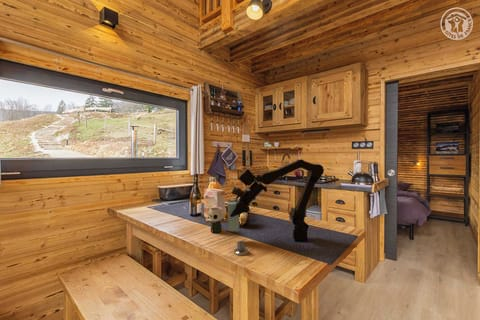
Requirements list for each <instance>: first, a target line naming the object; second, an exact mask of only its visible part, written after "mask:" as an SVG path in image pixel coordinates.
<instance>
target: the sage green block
mask: <svg viewBox="0 0 480 320" xmlns="http://www.w3.org/2000/svg"><path fill="white" fill-rule="evenodd" d="M235 208H236V202H228V201H227V231H228V232H239V231H240V225H239V215H236V216H234V217H230V215H231V213H232V212H233V210H234V209H235Z"/></svg>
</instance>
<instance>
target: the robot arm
mask: <svg viewBox="0 0 480 320" xmlns="http://www.w3.org/2000/svg"><path fill="white" fill-rule="evenodd" d="M299 169H303V170H305V171H307V172H306V181H305V183H304V186H303V188H302V190H301V193H300V196H299V198H298V200H297V204H296V205H295V206H294V207H293V206H291V207H290V211H289V213H288V215H289V216H288V218H289V220H290V221H291V222H290V223H292V225H293V229H292V239H293V241H294V242H301V243H308V242H309V239H308V230H309V227H310V225H309V224H308V223H306V222H305V220H306V219H305V218H306V208H307V207H308V203H309V200H310V199H311V196H312V195H313V194H312V193H313V191H314V187H315V186H316V184H317V182H318V181H319V180H320V179H321V177H322V176H323V174H324V172H325V168H324V166H323V165H321V164H319V163H312V162H309V161H305V160H304V159H296V160H294V161H292V162H290V163H288V164H285V165H284V166H281V167H279V168H277V169H274V170H268V171H264V172H262V173H260V174H256V175H254V174H253V173H252V172H251V170H250V169H249V168H246V170H244V171H243V172H241V174H240V175H239V176H238V178H237V179H238V180H240V182H241V183H242V184H243V185H244V186H246V187H247V186H248V188H246V189H244V190H243V189H242V188H240V187H238V186H237V187H236V186H233V188H232V189H231V194H232V195H235V197H236V198H238V199H236V208H235V209H234V210H233V212H232V213H231V215H230V217H234V216H236V215H239V214H241V213H242V214H244V213H245V214H247V213H248V212H249V211H250V204H251V203H252V202H253V201H255V200H256V198H257V197H258V196H259V195H260V194H261V193H262V192H263V191H264V192H265V193H267V192H268V189H267V188H268V187H267V186H269V185H271V184H273V183H274V182H275V181H277V179H279V178H281V177H283V176H285V175H287V174H290V173H292V172H294V171H296V170H299Z"/></svg>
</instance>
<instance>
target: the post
mask: <svg viewBox="0 0 480 320" xmlns="http://www.w3.org/2000/svg"><path fill="white" fill-rule="evenodd" d="M236 244H237V245H236V247H237V248H235V249H234V251H233V253H234V254H235V255H236V256H246V255H248V254H249V249H248V248H246V243H245V242H244V241H243V240H242V241H238V242H237V243H236Z"/></svg>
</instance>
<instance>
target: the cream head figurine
mask: <svg viewBox="0 0 480 320" xmlns="http://www.w3.org/2000/svg"><path fill="white" fill-rule="evenodd" d="M208 216H209V218H210V219H209V218H208V219H209V220H210V221H211V223H210V232H211V233H214V234H215V233H220V232H221V231H222V229H223V228H222V223H221V221H223V220H222V219H224V213H222V208H220V207H214V208H210V211H208ZM222 216H223V217H222ZM220 220H221V221H220ZM224 220H225V219H224Z"/></svg>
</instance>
